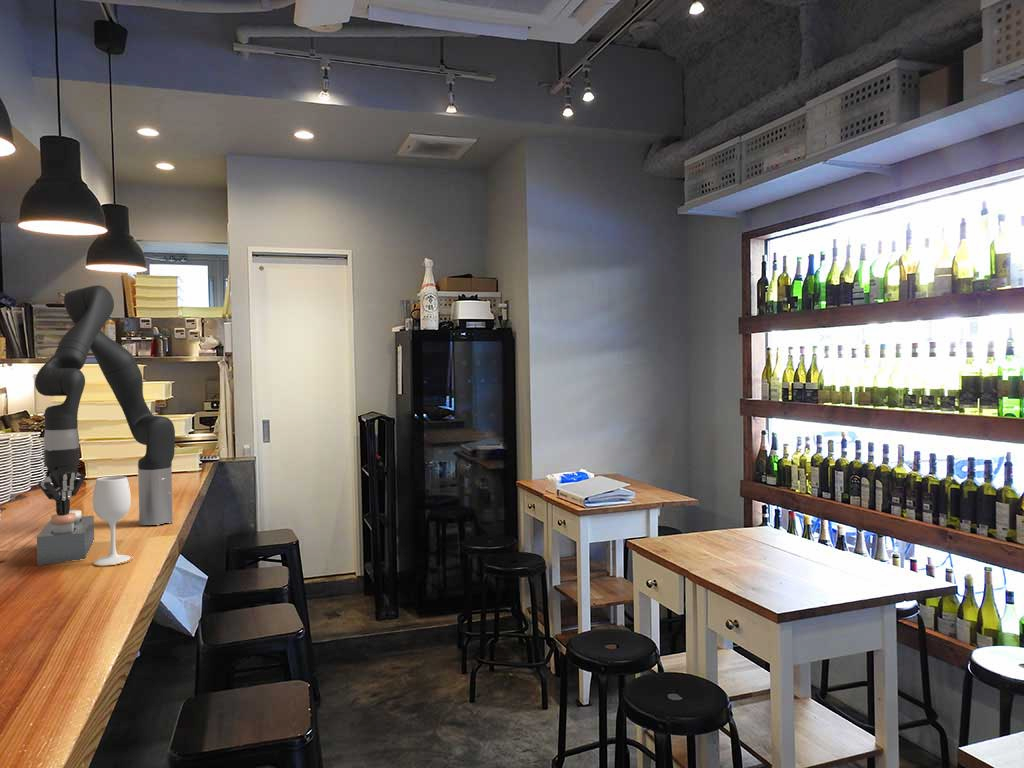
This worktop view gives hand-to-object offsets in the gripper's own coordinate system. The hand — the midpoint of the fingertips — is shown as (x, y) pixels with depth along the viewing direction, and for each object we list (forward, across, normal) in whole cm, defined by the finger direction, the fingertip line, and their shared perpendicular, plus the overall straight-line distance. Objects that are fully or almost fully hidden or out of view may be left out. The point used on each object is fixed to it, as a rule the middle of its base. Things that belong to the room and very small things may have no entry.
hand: (63, 514), depth 178 cm
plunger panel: (+11, -5, -3) cm, 13 cm away
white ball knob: (+9, -10, -7) cm, 15 cm away
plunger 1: (+7, 0, 0) cm, 7 cm away
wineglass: (+11, +1, +15) cm, 19 cm away
